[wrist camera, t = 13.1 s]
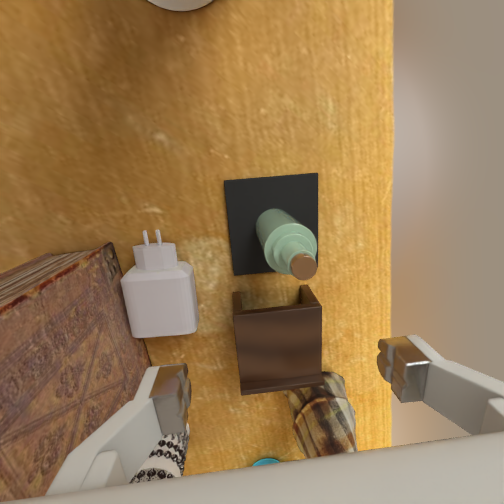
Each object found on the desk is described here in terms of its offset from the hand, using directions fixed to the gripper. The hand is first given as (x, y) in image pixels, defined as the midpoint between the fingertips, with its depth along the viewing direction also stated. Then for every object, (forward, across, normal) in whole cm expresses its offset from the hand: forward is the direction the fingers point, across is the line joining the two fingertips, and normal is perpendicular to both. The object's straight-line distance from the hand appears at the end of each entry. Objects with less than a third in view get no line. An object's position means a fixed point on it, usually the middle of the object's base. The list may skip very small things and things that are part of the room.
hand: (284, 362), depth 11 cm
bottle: (+28, -4, +1) cm, 28 cm away
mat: (+28, -4, +1) cm, 28 cm away
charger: (+28, +13, +6) cm, 32 cm away
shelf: (+28, -3, +17) cm, 33 cm away
